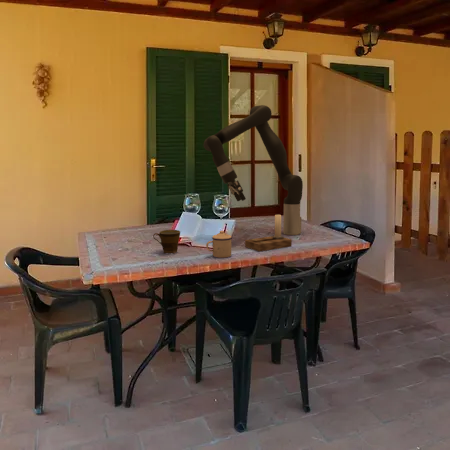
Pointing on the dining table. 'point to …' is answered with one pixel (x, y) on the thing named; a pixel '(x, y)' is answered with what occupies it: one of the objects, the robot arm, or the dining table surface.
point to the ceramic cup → (169, 240)
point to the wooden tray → (267, 243)
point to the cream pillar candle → (277, 227)
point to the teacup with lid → (221, 245)
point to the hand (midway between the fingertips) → (241, 200)
